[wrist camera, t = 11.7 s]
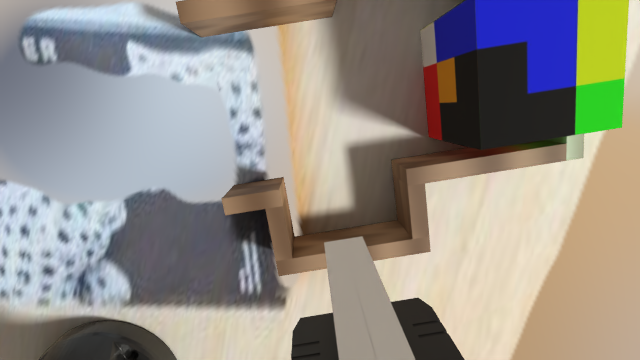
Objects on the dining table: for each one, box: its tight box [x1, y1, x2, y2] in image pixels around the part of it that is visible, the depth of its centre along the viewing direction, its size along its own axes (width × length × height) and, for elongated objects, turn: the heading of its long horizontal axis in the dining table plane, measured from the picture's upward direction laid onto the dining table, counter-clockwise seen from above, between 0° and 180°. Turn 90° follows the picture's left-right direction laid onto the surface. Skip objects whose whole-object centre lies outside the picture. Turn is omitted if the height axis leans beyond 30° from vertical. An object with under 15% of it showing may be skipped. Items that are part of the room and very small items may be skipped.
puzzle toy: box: [420, 0, 629, 150], centre depth 26 cm, size 10×10×10 cm
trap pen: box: [176, 0, 584, 276], centre depth 29 cm, size 32×30×5 cm
